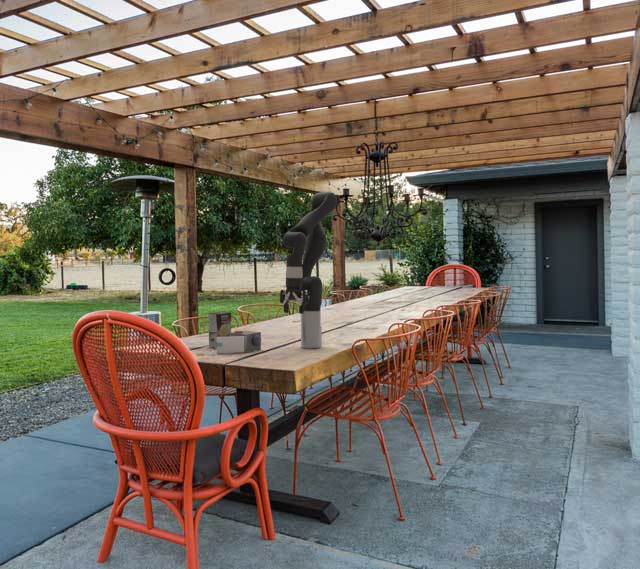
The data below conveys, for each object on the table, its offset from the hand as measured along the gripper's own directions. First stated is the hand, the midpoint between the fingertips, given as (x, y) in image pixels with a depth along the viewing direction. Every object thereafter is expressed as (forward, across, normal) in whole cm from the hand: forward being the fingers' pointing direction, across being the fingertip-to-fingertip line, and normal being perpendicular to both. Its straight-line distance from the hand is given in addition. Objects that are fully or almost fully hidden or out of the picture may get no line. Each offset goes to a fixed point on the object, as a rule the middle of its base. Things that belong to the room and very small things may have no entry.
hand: (293, 313), depth 251 cm
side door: (+18, +21, +18) cm, 32 cm away
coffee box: (+18, +38, +7) cm, 43 cm away
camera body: (+18, +21, +8) cm, 29 cm away
